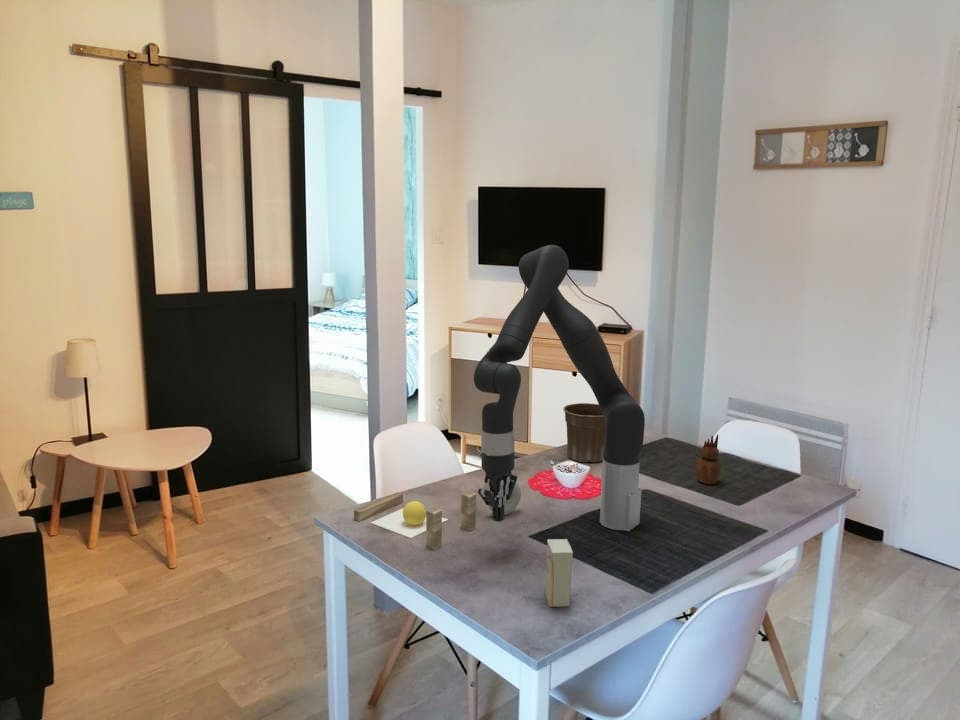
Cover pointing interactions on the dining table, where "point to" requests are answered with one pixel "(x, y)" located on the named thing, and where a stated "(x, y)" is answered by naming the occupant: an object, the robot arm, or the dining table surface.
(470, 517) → the post right
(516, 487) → the donut
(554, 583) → the skincare box
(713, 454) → the wooden figurine
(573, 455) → the plant pot
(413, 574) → the dining table surface
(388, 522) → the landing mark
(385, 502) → the wall
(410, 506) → the ball
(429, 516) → the post left
